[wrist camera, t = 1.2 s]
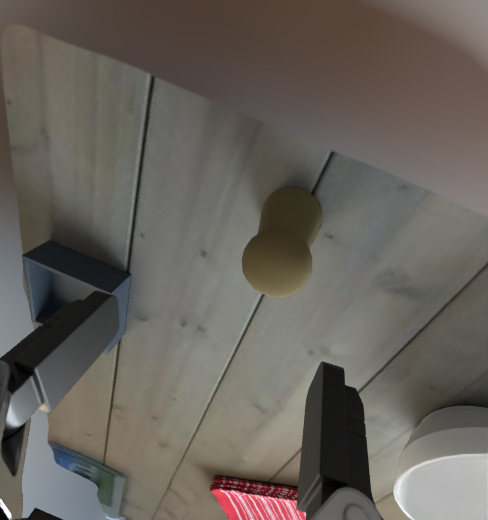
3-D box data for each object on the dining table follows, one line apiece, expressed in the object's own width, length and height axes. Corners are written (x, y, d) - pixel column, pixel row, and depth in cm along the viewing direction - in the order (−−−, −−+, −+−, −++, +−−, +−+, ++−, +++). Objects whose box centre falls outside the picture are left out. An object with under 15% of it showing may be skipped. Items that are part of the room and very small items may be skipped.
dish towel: (210, 473, 63) (205, 488, 60) (326, 490, 54) (325, 507, 52) (234, 514, 70) (231, 528, 68) (340, 534, 61) (340, 551, 59)
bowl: (583, 470, 37) (641, 560, 30) (415, 478, 46) (430, 548, 39) (540, 363, 31) (599, 443, 24) (359, 397, 40) (364, 461, 33)
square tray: (49, 239, 40) (21, 255, 37) (131, 274, 40) (111, 293, 36) (54, 303, 47) (31, 321, 43) (124, 334, 46) (107, 355, 43)
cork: (276, 176, 28) (248, 221, 19) (334, 203, 28) (334, 261, 19) (253, 228, 32) (220, 287, 23) (304, 252, 32) (292, 322, 22)
